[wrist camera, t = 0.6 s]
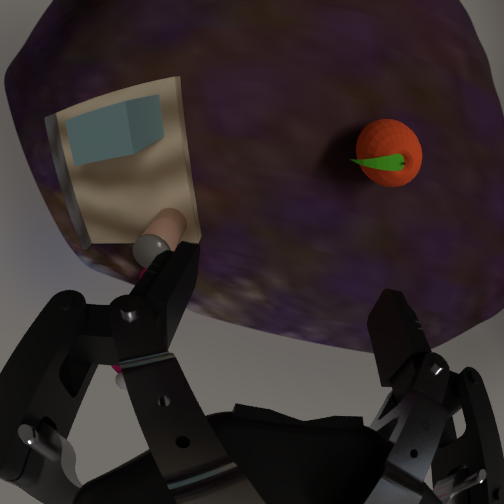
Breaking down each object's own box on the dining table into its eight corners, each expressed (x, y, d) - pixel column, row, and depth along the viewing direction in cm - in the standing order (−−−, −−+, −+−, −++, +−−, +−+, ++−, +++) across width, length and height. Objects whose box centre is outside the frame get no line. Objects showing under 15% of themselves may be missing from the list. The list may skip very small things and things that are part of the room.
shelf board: (59, 112, 25) (44, 117, 23) (179, 76, 23) (168, 76, 21) (93, 237, 37) (82, 249, 34) (201, 236, 35) (195, 250, 32)
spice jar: (152, 207, 31) (127, 238, 26) (184, 206, 31) (163, 237, 25) (160, 237, 34) (139, 270, 28) (190, 236, 33) (173, 271, 28)
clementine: (343, 177, 29) (359, 204, 23) (334, 117, 25) (351, 128, 19) (406, 170, 27) (433, 196, 21) (402, 113, 23) (434, 125, 17)
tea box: (104, 108, 24) (64, 120, 18) (159, 94, 23) (125, 101, 17) (110, 147, 27) (75, 167, 21) (164, 137, 26) (134, 156, 20)
